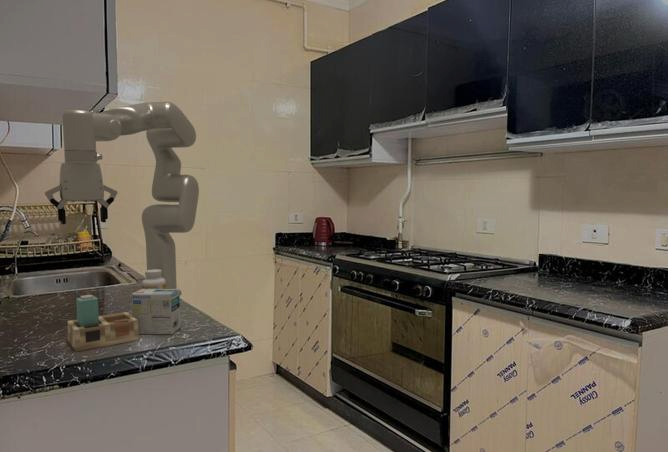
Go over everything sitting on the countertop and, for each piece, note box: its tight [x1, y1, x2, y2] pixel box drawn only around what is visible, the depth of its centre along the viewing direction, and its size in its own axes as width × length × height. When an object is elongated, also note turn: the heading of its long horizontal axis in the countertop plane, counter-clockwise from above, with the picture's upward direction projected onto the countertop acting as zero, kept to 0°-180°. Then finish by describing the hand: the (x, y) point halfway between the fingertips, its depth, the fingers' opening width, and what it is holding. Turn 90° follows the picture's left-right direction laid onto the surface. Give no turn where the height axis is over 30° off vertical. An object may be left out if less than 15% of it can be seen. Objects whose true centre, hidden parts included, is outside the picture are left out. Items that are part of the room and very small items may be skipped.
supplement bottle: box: [141, 269, 166, 289], centre depth 148 cm, size 7×7×13 cm
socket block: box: [66, 311, 139, 352], centre depth 122 cm, size 10×14×5 cm
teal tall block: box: [75, 294, 100, 327], centre depth 120 cm, size 4×4×11 cm
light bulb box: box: [131, 288, 182, 335], centre depth 130 cm, size 11×7×11 cm, turn 89°
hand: (83, 223), depth 132 cm, fingers open, 9 cm apart
